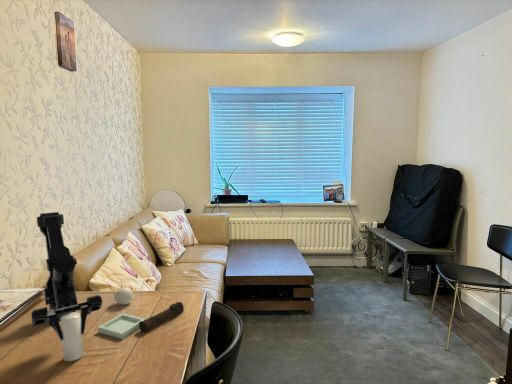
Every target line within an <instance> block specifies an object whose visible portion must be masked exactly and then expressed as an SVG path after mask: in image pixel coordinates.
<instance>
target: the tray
mask: <svg viewBox="0 0 512 384" xmlns="http://www.w3.org/2000/svg"><path fill="white" fill-rule="evenodd" d="M144 320H146V318H143V317H141V316H140V317H138V316H136V315H132V314H127V313H120V314H119V315H117V316H116V317H113V318H112V319H109V320H108V321H106V322H104V323H102V324H100V325H99V326H97V332H98V333H99V334H102V335H106V336H109V337H113V338H116V339H119V340H124V339H126V338H127V337H128V336H130V335H132V334H133V333H136V331H138V330H140V329H139V322H140V321H144Z"/></svg>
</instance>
